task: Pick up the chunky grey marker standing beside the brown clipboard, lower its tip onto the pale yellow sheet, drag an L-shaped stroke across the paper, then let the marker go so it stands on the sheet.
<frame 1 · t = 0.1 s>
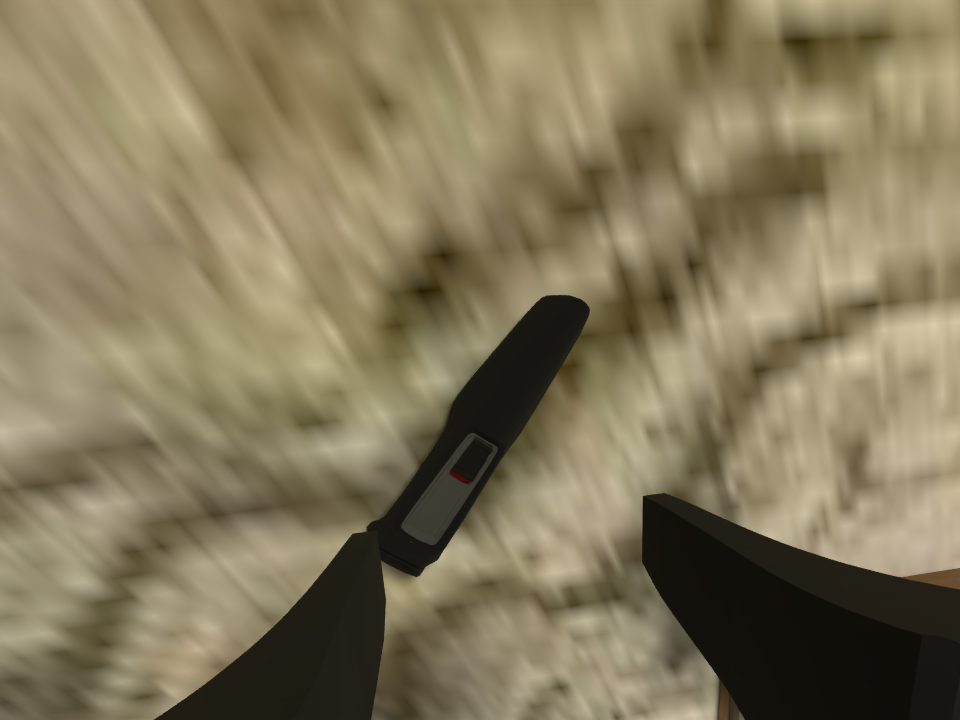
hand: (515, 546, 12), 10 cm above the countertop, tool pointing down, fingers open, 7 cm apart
electric trimmer: (466, 429, 22), on the countertop
clipboard: (841, 669, 28), on the countertop
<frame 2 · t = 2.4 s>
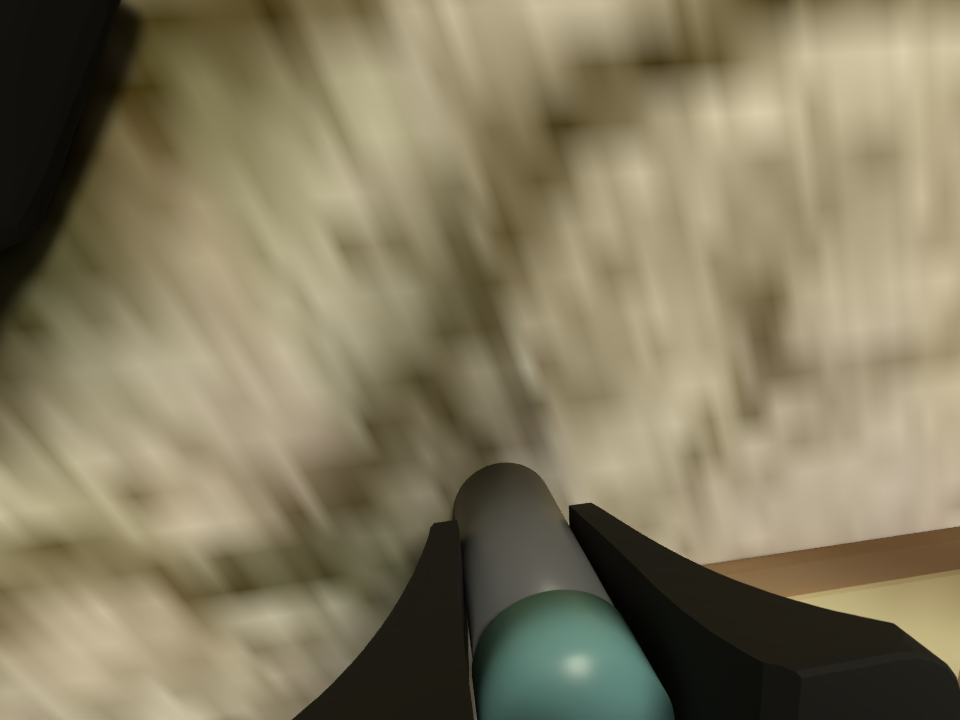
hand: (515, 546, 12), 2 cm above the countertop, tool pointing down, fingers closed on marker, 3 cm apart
clipboard: (757, 699, 17), on the countertop
marker: (502, 508, 14), on the countertop, touching gripper
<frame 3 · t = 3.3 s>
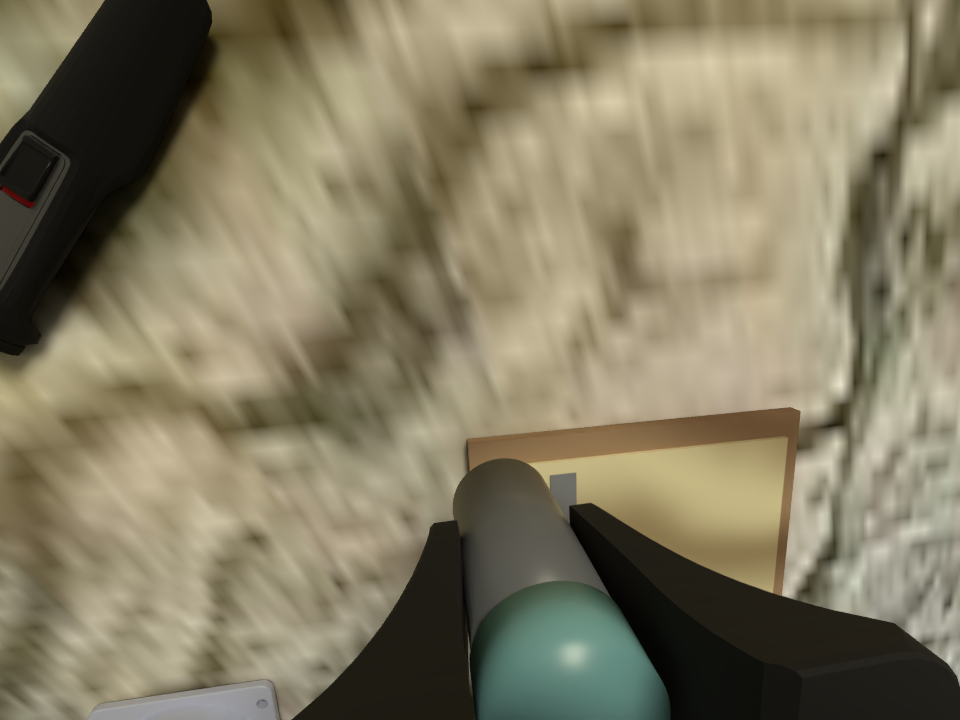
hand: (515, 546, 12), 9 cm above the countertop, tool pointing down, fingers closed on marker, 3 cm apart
electric trimmer: (89, 174, 17), on the countertop
clipboard: (633, 535, 23), on the countertop
marker: (501, 504, 14), point 7 cm above the countertop, touching gripper
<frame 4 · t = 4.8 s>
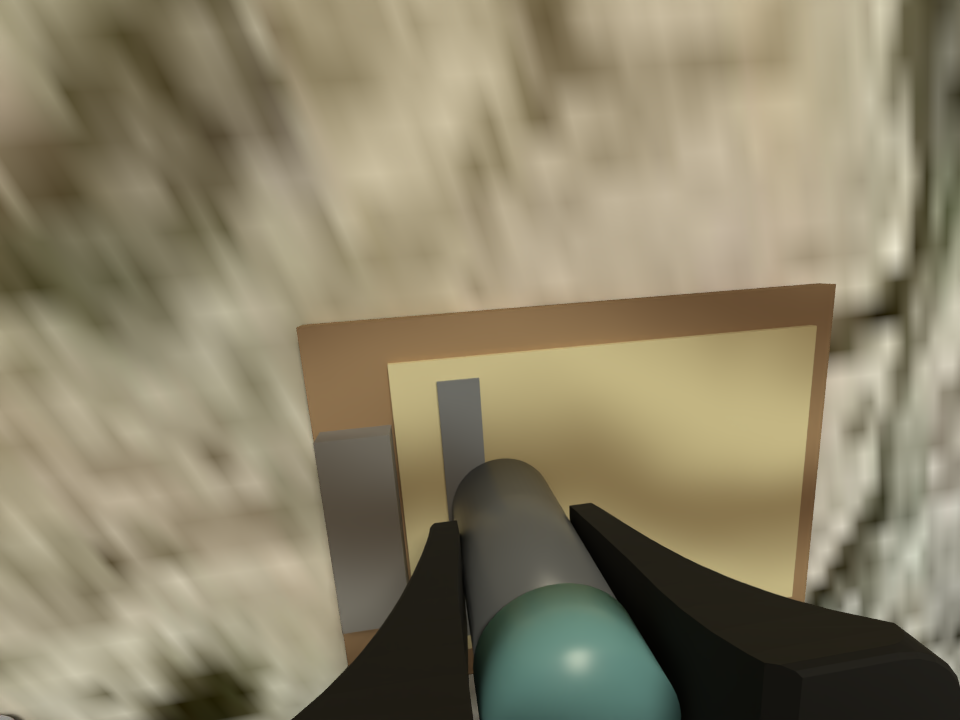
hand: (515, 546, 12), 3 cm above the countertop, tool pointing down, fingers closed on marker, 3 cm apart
clipboard: (580, 485, 15), on the countertop
marker: (502, 505, 14), point 1 cm above the countertop, touching gripper
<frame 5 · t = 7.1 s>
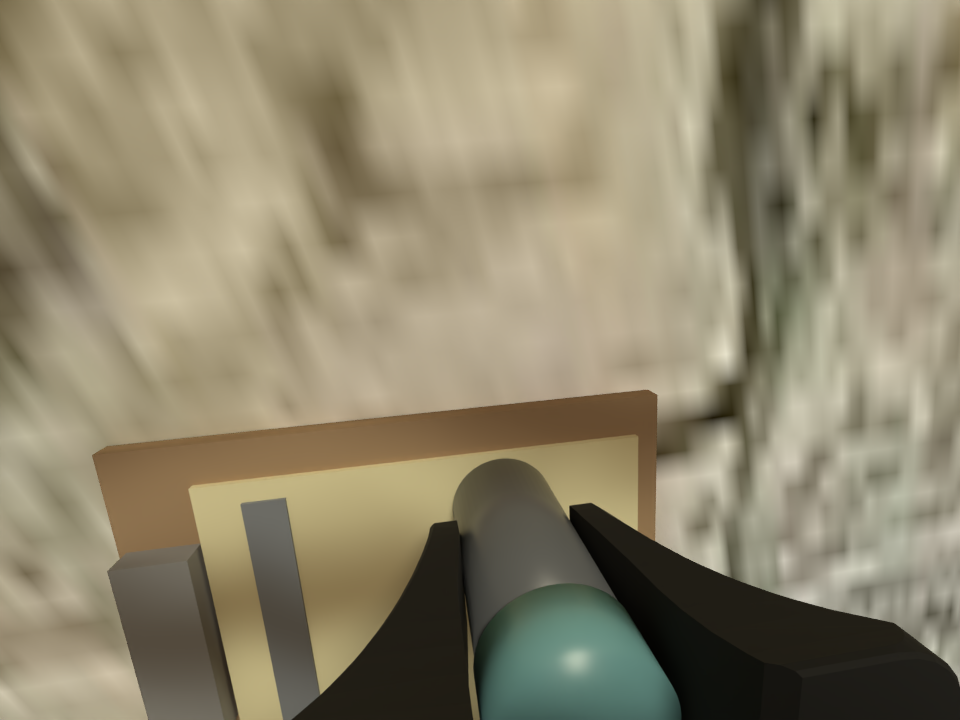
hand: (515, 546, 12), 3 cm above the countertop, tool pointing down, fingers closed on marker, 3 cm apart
clipboard: (414, 589, 15), on the countertop
marker: (502, 505, 14), point 1 cm above the countertop, touching gripper
when the fingers open (3 cm above the countertop, at t = 7.4 s): marker stays where it is, resting on clipboard.
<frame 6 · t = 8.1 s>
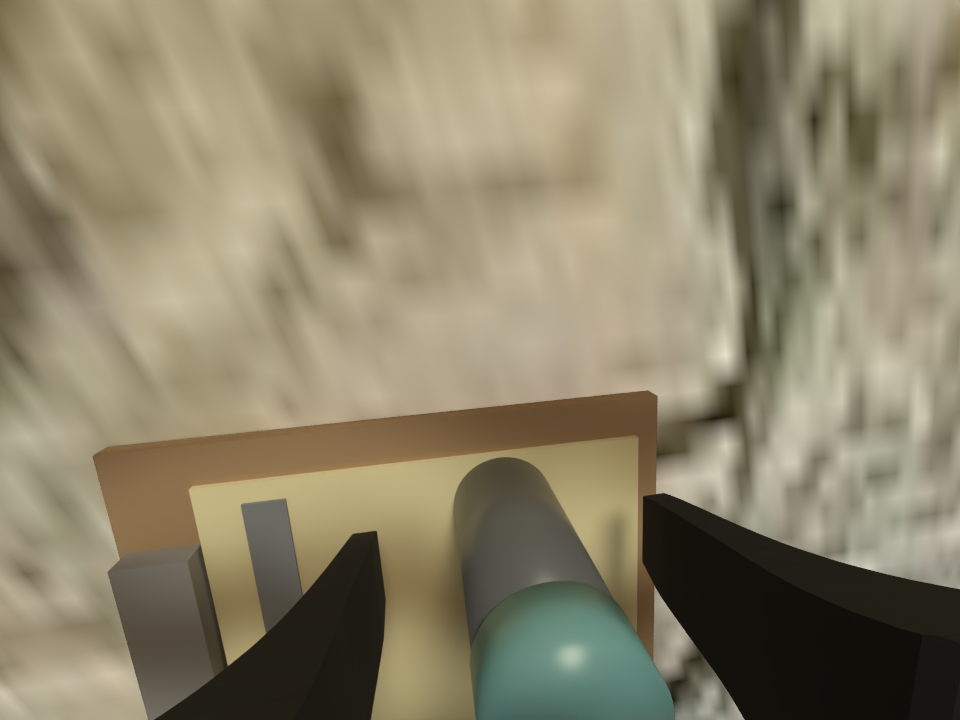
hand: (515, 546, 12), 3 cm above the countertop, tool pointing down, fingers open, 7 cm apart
clipboard: (414, 590, 15), on the countertop
marker: (503, 503, 14), point 1 cm above the countertop, touching clipboard
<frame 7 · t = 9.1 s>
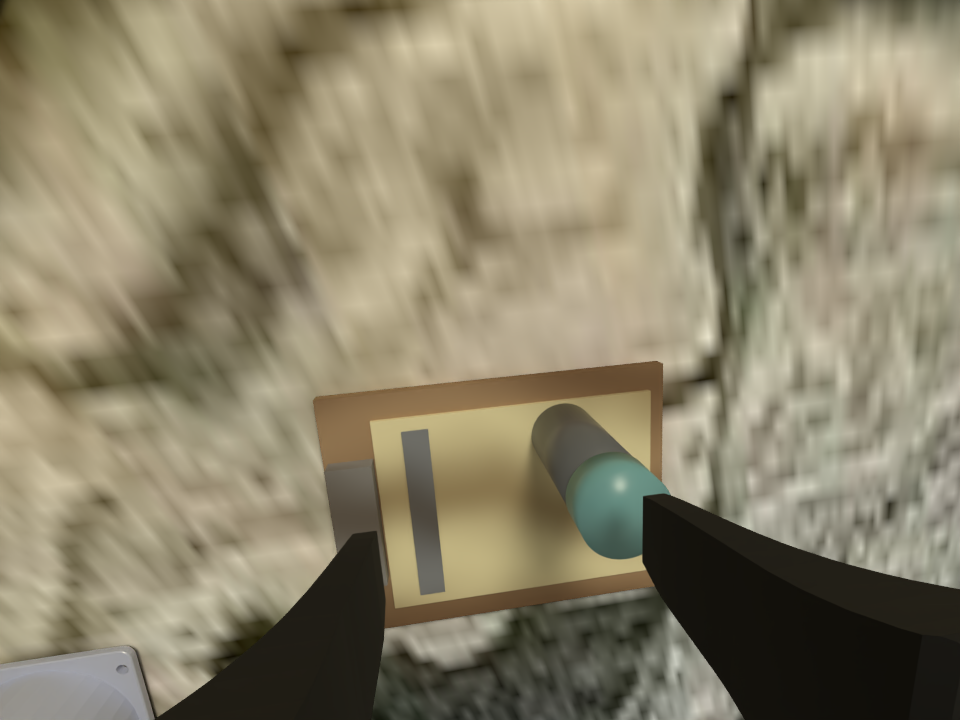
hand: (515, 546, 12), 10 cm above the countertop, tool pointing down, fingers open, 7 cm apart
clipboard: (501, 495, 22), on the countertop
marker: (563, 433, 21), point 1 cm above the countertop, touching clipboard
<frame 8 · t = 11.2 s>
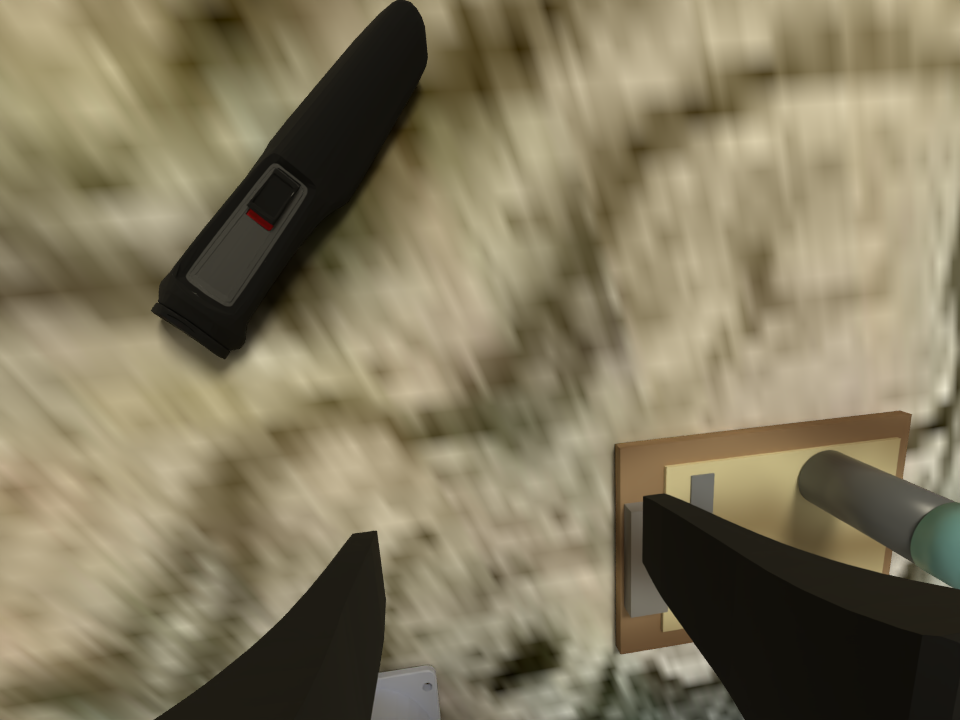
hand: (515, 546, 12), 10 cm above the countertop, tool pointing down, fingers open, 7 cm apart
electric trimmer: (295, 198, 19), on the countertop
clipboard: (755, 530, 25), on the countertop
marker: (824, 476, 24), point 1 cm above the countertop, touching clipboard
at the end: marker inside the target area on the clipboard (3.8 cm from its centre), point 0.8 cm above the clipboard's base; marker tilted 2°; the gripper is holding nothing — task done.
